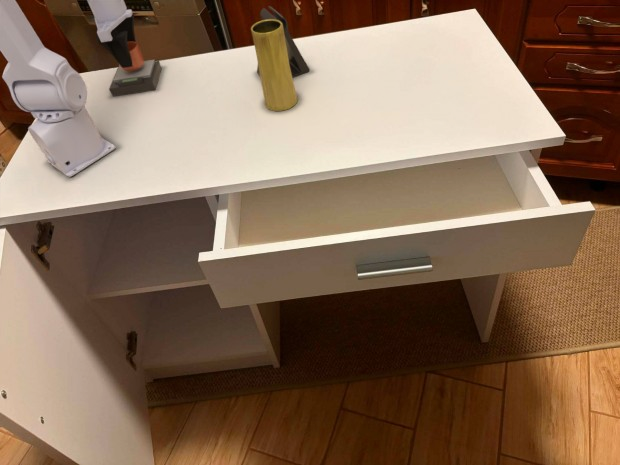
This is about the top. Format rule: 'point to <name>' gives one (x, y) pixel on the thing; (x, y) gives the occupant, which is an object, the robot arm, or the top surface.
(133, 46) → the cup
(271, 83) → the vase
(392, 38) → the top surface
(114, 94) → the scale
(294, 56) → the phone stand
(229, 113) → the top surface
